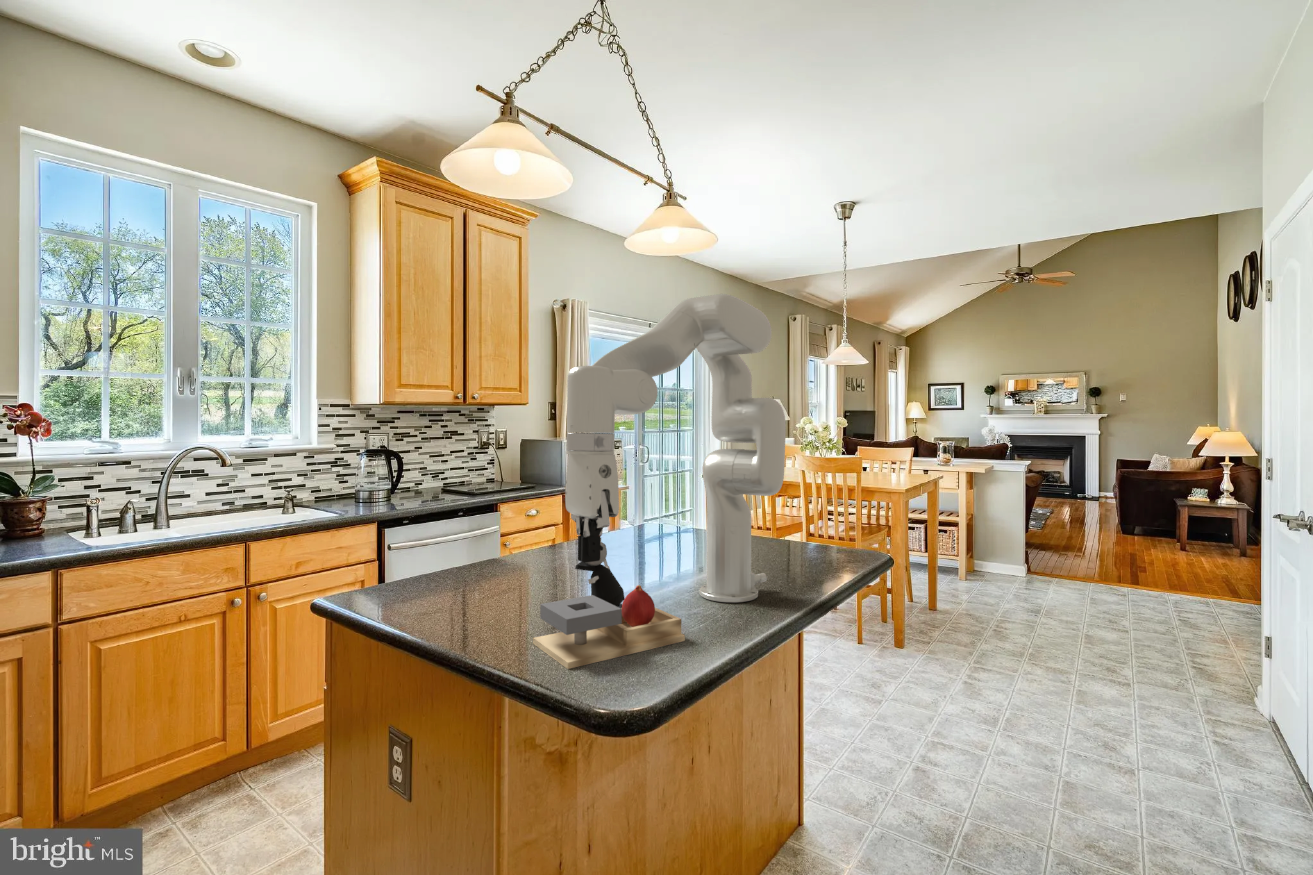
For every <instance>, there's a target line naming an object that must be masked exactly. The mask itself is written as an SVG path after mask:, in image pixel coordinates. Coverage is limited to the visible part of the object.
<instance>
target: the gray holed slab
mask: <svg viewBox="0 0 1313 875" xmlns="http://www.w3.org/2000/svg"><path fill="white" fill-rule="evenodd" d="M621 608H622V607H621ZM621 608H620V607H619V606H615V605H612V604H610V603H608V602H606V601H604V600H602V599H600V598H598V597H596V596H594V595H591V594H590V595H585V596H580V597H574V598H568V599H562V600H556V601H551V602H550V601H549V602H544V603H540V610H539V612H540V616H539V617H540V619H541V620H542V621H544V622H545V623H547V624H549V625H550V626H551V627H554V628H555V629H556V630H558V631H559V632H563V633H564V634H566V635H569V634H574V633H579V632H584V631H589V630H593V629H598V628H603V627H608V626H613V625H618V624H622V609H621Z"/></svg>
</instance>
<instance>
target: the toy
mask: <svg viewBox="0 0 1313 875" xmlns="http://www.w3.org/2000/svg"><path fill="white" fill-rule="evenodd" d="M607 554H608V549H607V545H606V544H605V543H603V541H601V542H600V560H599V561H594V562H585V563H584V562H582V561H579V563H576V564H575V568H574V569H575V570H580V571H587V572H591V575H590V578H588V579H587V581H588V584H589V585H590V595H594V596H596V597H598V598H600V599H602V600H604V601H606V602H608V603H610V604H612V605H615V606H617V607H619V606H620V605H621V603H622V604H623V601H624V599H625V592H624V589H623V587H622V585H621V584H620V583H619V581H618V580H617V578H616V576H615V575H614V574H613V572H612V570H611V568H610V565H609V564H608V561H607Z"/></svg>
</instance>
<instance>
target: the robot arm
mask: <svg viewBox="0 0 1313 875" xmlns="http://www.w3.org/2000/svg"><path fill="white" fill-rule="evenodd" d="M772 334H773V333H772V326H771V323H770V320H769V319H768V317H767V315H766V314H765V313H764V312H763V311H761V309H759V308H757V307H755V306H754V305H752V304H750V303H748V302H746V301H744V300H743V299H741V298H739V297H737V296H734V295H731V294H728V293H720V294H712V295H704V296H696V297H689V298H687V299H684V300H681V301H679V302H678V303H677V304H676V305H675V306H674V307H673V308H672V309H670V310H669V311H668V313H666V314H665V315H664V316H663V317H662V318H661V319H659V321H658V322H657V323H656V324H655V325H654V326H653V327H652V328H650V330H648V331H647V332H645V333H643V334H642V335H639V336H637V337H635V338H633V339H631V340H629V341H628V342H626V343H624V344H622V345H620V346H617V347H616V348H614V349H612V350H611V351H609V352H607V353H605V354H604V355H602V356H601V357H600V358H598V359H597V360H596V361H595V362H594V363H593V364H592V365H580V366H574V367H572V368H570V370H569V371H568V373H567V384H566V385H567V386H566V388H567V390H566V391H567V393H566V397H567V400H566V455H567V456H568V457H567V463H566V464H567V465H566V471H565V472H566V474H565V493H564V494H565V495H564V496H565V497H564V501H565V502H564V503H565V510H566V511H567V512H568V513H570V518H571V520H572V521H573V522H575V524H576V525H575V527H576V534H577V560H578V561H579V562H584V563H585V562H594V561H599V560H600V542H602V536H603V529H604V528H609V527H610V524H611V522H610V518H616V517H617V516H618V515H619V511H620V496H619V495H620V491H619V490H620V489H619V475H618V466H617V460H616V455H615V428H616V427H615V424H616V423H615V422H616V421H615V420H616V419H615V418H616V416H615V415H619V416H621V415H624V416H625V415H626V416H627V415H633V416H634V415H640V414H644V413H645V412H647V411H649V410H650V409H651V408H653V406H654V405H655V404H656V401H657V398H658V394H659V393H658V386H657V382H656V381H655V380H654V378H655V377H656V376H657V377H658V376H661V375H664V374H667V373H669V372H671V371H673V370H676V369H678V368H679V367H680V366H681V365H682V364H683V363H684V362H685V361H686V360H687V359H688V357H689V356H691V354H692V353H693V352H694V351H695V350H697V351H698V353H699V355H701V357H702V358H703V360H704V361H705V363H706V365H707V367H708V369H709V371H710V375H711V384H712V388H711V389H712V393H711V394H712V396H711V431H712V435H713V437H714V438H715V439H716V440H718V441H721V442H725V443H737V444H739V443H741V444H755V446H756V449H744V448H719V449H715V450H713V451H711V452H710V453H708V454H707V456H706V457H705V458H704V460H703V463H702V478H703V485H704V489H705V496H706V498H705V499H706V520H707V521H706V584H704V585H701V587H700V588H699V591H698V592H699V595H700V596H701V597H702V598H704V599H706V600H709V601H714V602H719V603H744V602H746V603H747V602H751V601H753V600H756V599H757V598H758V597H759V590H758V589H757V588H756V587H755V586H756V585H757V583H764V582H766V581H767V580H768V576H767V574H766V573H764V572H762V573H756V574H755V572H752V514H751V513H752V512H751V509H750V506H749V504H748V502H747V500H746V498H745V497H744V495H747V496H758V497H759V496H761V497H762V496H763V497H771V496H774V495H776V494H778V493H779V492H780V491H781V489H782V486H783V483H784V479H785V465H786V463H785V462H786V436H787V434H786V430H787V429H786V428H787V427H786V426H787V425H786V424H787V423H786V416H785V412H784V409H783V406H782V405H781V404H780V403H779V401H777V400H776V399H774V398H771V397H753V388H752V387H753V386H752V385H753V384H752V383H753V382H752V381H753V377H752V373H751V370H750V369H749V367H748V365H747V363H746V362H745V361H744V360H743V358H742V357H741V356H740V355H747V354H749V355H750V354H751V355H752V354H757V353H761V352H763V351H764V350H766V349H767V347H769V345H770V343H771V341H772V340H771V339H772ZM653 377H654V378H653Z"/></svg>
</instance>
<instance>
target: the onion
mask: <svg viewBox="0 0 1313 875" xmlns="http://www.w3.org/2000/svg"><path fill="white" fill-rule="evenodd" d="M624 598H625V599H624V600H623V601H622V605H621V608H622V616H623V618H624V620H625V621H626V622H627V623H628V624H629V625H630V626H632V627H636V626H640V625H645V624H648V623H649V622H650V621H651V620H652V619H653V617H654V613H655V608H656V606H655V602H654V599H653V598H652V597H651V595H650V594H648V593H647V592H646V591H645V590H644V589H643V588H642V585H640V584H637V585H636V586H635V588H634V589H633V590H632V591H630V592H628V594H627V595H626V596H624Z"/></svg>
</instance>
